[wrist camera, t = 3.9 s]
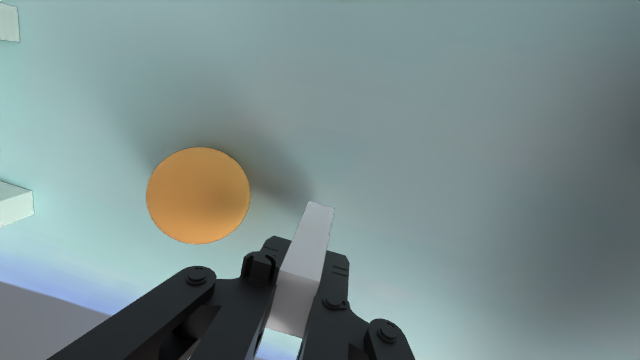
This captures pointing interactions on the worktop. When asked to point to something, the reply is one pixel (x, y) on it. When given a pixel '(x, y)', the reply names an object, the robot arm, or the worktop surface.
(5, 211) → the bridge
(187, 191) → the ball
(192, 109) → the worktop surface
